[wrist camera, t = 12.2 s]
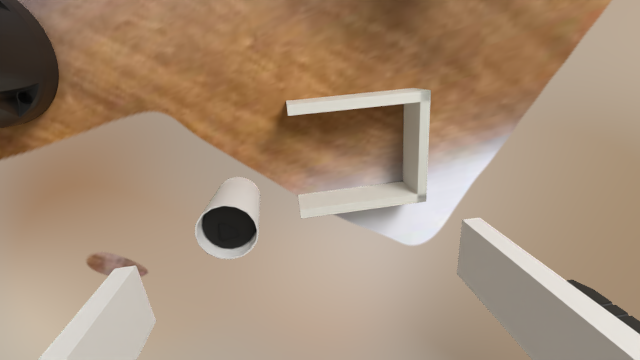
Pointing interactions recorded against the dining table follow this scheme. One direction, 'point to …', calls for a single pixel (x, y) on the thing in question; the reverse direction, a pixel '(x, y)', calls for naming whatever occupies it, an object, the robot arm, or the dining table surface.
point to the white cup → (230, 220)
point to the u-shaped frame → (413, 153)
